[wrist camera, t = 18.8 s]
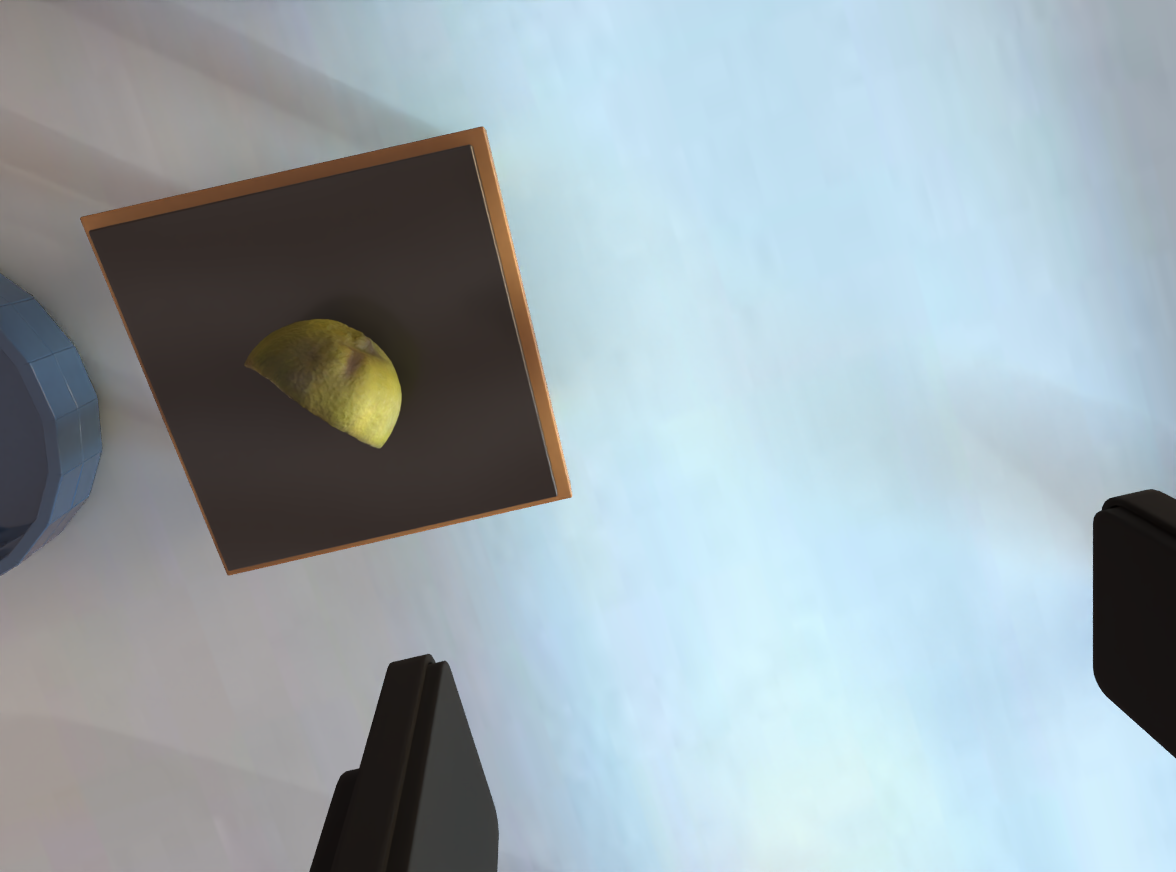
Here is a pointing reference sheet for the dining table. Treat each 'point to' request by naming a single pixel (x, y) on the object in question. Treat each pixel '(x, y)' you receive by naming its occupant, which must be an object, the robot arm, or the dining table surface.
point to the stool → (363, 302)
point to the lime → (333, 376)
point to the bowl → (41, 427)
